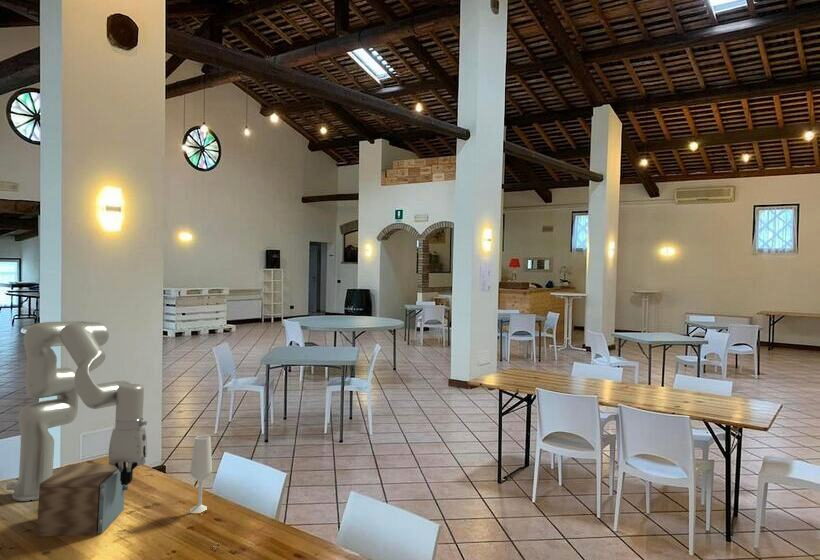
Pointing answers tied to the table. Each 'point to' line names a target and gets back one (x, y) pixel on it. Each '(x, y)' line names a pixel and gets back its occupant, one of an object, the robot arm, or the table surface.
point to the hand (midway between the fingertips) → (126, 483)
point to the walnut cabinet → (72, 500)
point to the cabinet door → (110, 500)
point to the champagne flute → (201, 466)
